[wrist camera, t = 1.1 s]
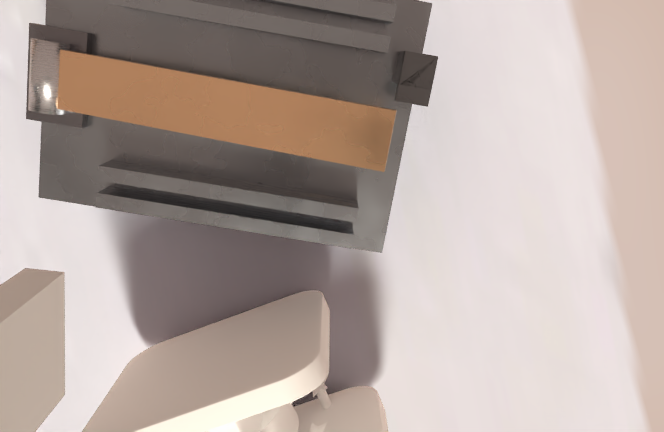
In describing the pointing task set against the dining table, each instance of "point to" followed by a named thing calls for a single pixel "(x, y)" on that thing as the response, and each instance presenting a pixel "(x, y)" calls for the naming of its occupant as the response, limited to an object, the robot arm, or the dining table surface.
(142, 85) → the strap
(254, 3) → the grey stepped block
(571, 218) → the dining table surface
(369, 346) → the dining table surface
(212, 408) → the cable organizer
